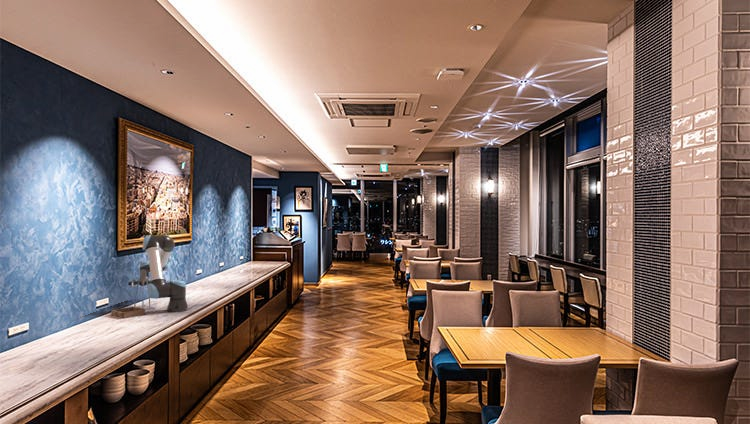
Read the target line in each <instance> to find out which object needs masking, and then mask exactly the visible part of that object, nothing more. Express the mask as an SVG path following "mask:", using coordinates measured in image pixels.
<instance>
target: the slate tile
mask: <svg viewBox="0 0 750 424" xmlns="http://www.w3.org/2000/svg"><path fill="white" fill-rule="evenodd" d="M136 307H138V308H142V305H137V306H136ZM143 309H145V311H149V310H155V306H151V305H150V306H149V305H146V304H145V305H144V308H143Z"/></svg>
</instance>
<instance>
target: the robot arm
mask: <svg viewBox="0 0 750 424" xmlns="http://www.w3.org/2000/svg"><path fill="white" fill-rule="evenodd" d="M175 246H176V245H175V241H174V239H173V238H172V237H171V236H168V235H165V234H159V235H157V234H155V235H151V234H149V235H145V236H144V237H143V241H142V250H143V251H145V253H146V254H147V257H148V260H141V261H140V262H141V263H140V262H139V265H140V271H141V270H146V278H147V281H148V288H147V293H148V297H149V296H150V299H152V300H153V299H155V300H156V299H157V300H158V299H165V298H168V299H169V301H168V305H167V307H166V311H167V312H171V313H172V312H173V313H177V312H180V313H181V312H184V311H185V312H186V311H188V309H189V307H188V303H187V302H188V301H187V300H186V296H187V295H186V294H187V293H186V292H187V283H186V281H184V280H178V279H170V280H169V281H167V279H166V278H164V273H163V272H166V271H168V267H169V266H168V265H169V264H168V260H169V258H170V256H171V253H172V252H173V251H174V249H175ZM139 279H140V278H138V280H139ZM138 280H133V281H132V280H131V281H129V282H127V283H128V286H130V287H132V288H133V287H134V286H137V284H138ZM139 286H142V287H143V285H142V283H141V282H140V283H139ZM145 286H147V283H146V281H145V282H144V287H145Z"/></svg>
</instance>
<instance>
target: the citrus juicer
mask: <svg viewBox="0 0 750 424" xmlns="http://www.w3.org/2000/svg"><path fill="white" fill-rule="evenodd" d="M137 281H138V284H137V285H136V288H135V289H136V290H135V295H134V304H133V307H137V306H136V305H137V304H136V302H137V295H138V289H139V286H140V285H139V283H140V282H141V283H142V285H143V286H142V304H141V306H142V308H144V298H145V297H144V294H145V293H144V287H145V286H144V282H145V281H146V283H147V285H146V286H147V289H148V281H147V278H146V270H141V271H140V279H139V278H138V280H137ZM148 306H151V298H150V296H149V295H148Z"/></svg>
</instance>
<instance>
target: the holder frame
mask: <svg viewBox="0 0 750 424" xmlns="http://www.w3.org/2000/svg"><path fill="white" fill-rule="evenodd" d="M110 313H111V315H110V316H111V317H114V318H118V319H129V318H135V317H140V316H144V315H146V310H145V309H143V308H138V307H137V306H135V307H134V306H129V307H122V308H118V309H117V308H116V309H111V311H110Z"/></svg>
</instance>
